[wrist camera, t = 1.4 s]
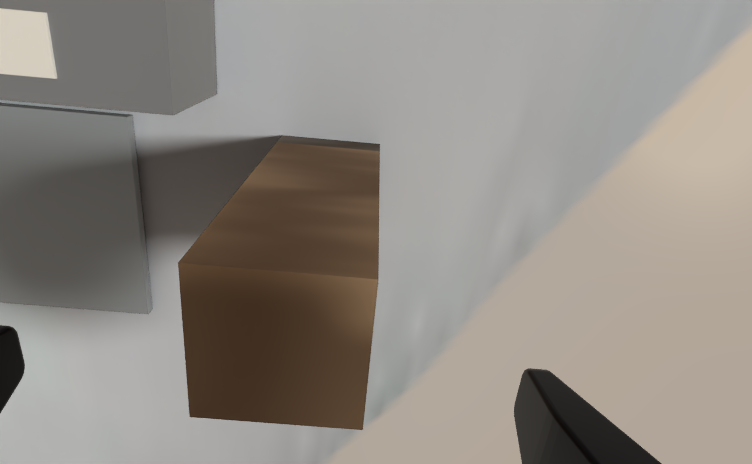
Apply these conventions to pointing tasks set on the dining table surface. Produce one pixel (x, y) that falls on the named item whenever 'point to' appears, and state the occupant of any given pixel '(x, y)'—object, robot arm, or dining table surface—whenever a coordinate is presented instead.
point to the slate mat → (71, 211)
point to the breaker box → (108, 53)
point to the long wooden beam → (287, 290)
